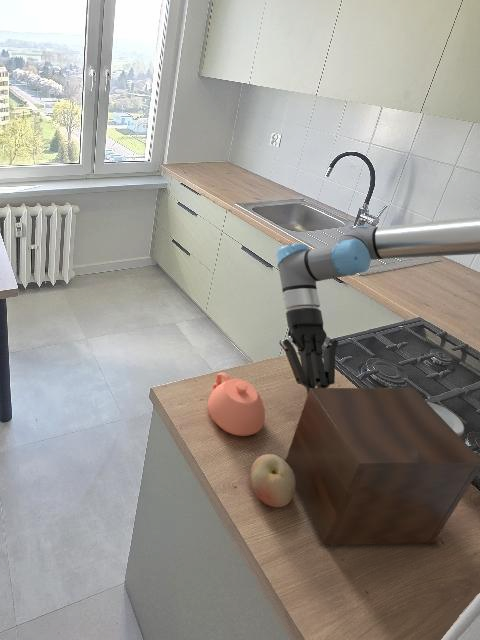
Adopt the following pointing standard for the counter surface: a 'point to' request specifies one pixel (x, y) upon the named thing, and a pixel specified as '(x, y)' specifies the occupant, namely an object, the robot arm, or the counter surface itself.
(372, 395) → the block
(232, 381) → the sugar bowl
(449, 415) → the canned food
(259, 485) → the fruit
